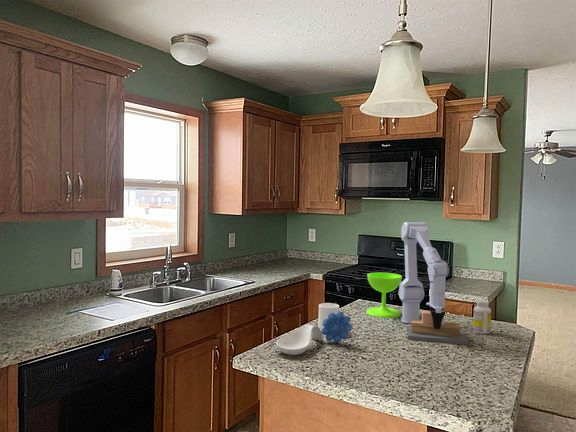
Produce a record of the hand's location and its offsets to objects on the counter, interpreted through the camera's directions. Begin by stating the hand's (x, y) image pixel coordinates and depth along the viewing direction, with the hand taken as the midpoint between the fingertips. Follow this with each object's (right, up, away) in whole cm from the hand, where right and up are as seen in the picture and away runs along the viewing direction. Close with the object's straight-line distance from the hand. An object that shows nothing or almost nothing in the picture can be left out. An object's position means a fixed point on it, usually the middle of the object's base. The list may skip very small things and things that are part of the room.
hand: (436, 326), depth 180 cm
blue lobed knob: (-40, -4, -9) cm, 41 cm away
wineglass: (-14, -2, +35) cm, 38 cm away
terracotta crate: (-3, +2, +1) cm, 4 cm away
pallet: (-1, -2, 0) cm, 2 cm away
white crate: (+1, +2, 0) cm, 2 cm away
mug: (-41, -3, +8) cm, 42 cm away
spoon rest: (-54, -4, -16) cm, 56 cm away
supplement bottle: (+21, -4, +8) cm, 23 cm away
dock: (0, -4, 0) cm, 4 cm away
